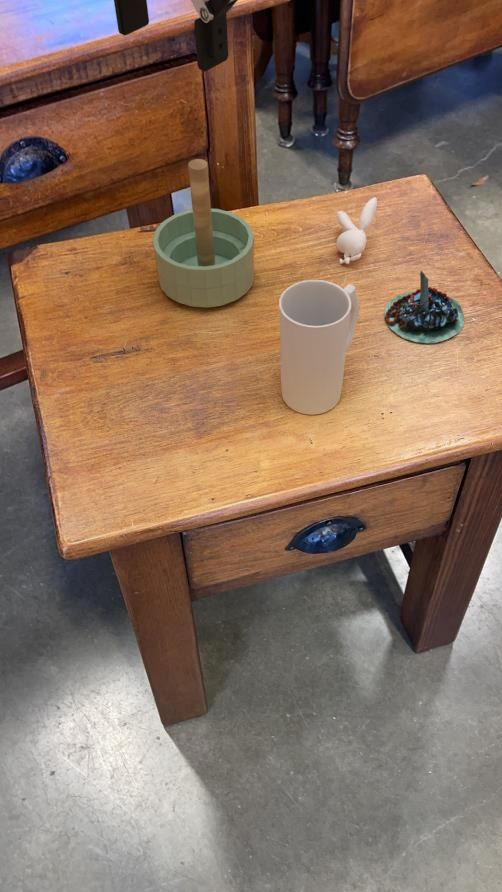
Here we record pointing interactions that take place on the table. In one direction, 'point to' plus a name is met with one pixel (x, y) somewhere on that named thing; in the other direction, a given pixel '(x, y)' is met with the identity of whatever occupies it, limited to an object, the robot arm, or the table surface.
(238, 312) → the table surface
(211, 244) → the stick
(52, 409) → the table surface
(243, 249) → the bowl
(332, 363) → the mug
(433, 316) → the dish
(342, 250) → the rabbit figurine
